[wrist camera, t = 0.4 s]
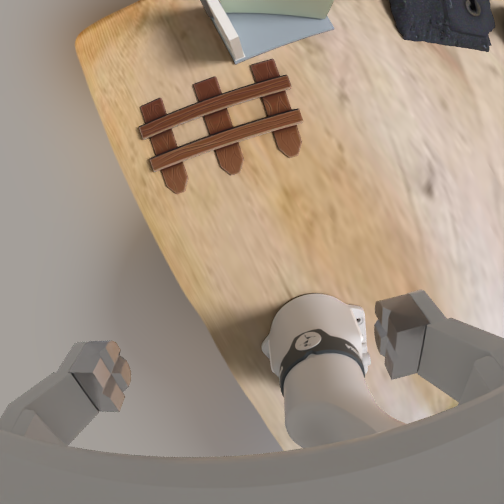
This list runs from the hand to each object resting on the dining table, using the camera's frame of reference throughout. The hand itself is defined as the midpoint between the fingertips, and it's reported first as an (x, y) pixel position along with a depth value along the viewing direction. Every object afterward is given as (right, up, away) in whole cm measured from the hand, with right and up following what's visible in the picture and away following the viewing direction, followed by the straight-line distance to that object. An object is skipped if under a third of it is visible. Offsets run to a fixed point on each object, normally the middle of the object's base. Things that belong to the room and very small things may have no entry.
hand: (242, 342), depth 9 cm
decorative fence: (-4, +21, +35) cm, 41 cm away
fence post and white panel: (-4, +35, +29) cm, 46 cm away
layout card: (+3, +38, +28) cm, 47 cm away
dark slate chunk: (+33, +44, +25) cm, 60 cm away
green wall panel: (+4, +38, +27) cm, 47 cm away
